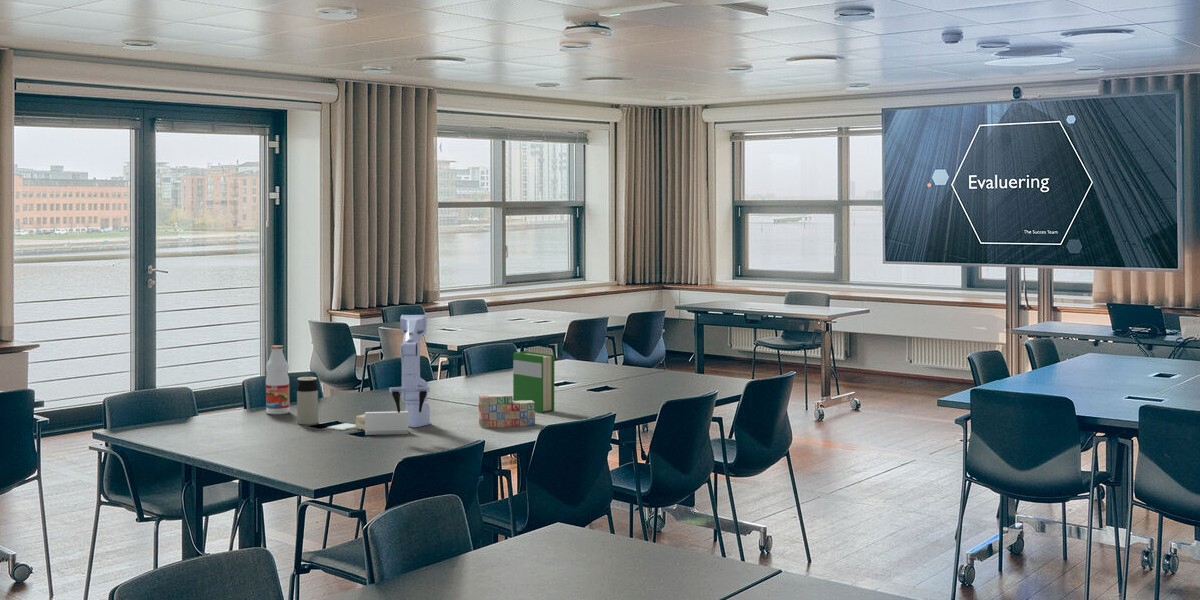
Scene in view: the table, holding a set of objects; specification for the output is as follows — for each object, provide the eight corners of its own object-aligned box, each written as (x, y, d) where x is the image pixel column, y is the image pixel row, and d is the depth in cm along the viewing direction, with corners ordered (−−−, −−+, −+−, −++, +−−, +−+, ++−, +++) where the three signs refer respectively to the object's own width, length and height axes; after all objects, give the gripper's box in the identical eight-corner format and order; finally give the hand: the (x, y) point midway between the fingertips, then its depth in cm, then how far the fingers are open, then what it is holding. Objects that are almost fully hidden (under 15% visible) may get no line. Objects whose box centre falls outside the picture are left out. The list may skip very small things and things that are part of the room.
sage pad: (345, 424, 449) (345, 423, 449) (360, 426, 444) (360, 425, 444) (326, 428, 440) (326, 427, 440) (341, 430, 436) (341, 429, 436)
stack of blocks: (531, 423, 455) (531, 392, 454) (535, 425, 449) (535, 394, 448) (478, 425, 449) (478, 394, 448) (481, 428, 443) (481, 396, 442)
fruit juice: (293, 411, 479) (292, 344, 477) (284, 415, 469) (283, 347, 467) (272, 410, 480) (271, 344, 478) (262, 414, 471) (261, 346, 469)
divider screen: (365, 434, 428) (365, 413, 427) (365, 432, 433) (365, 411, 432) (408, 433, 431) (408, 412, 430) (408, 431, 436) (408, 410, 435)
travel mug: (312, 425, 447) (312, 379, 445) (293, 424, 448) (293, 379, 447) (321, 421, 454) (321, 377, 453) (303, 421, 456) (302, 376, 455)
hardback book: (554, 411, 481) (554, 354, 480) (541, 413, 476) (541, 356, 474) (526, 406, 494) (526, 351, 492) (513, 408, 488) (513, 352, 487)
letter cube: (364, 427, 445) (364, 414, 444) (374, 428, 442) (374, 415, 442) (355, 428, 440) (355, 416, 440) (365, 430, 438) (365, 417, 437)
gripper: (388, 375, 413) (388, 412, 412) (428, 374, 414) (428, 412, 413) (390, 375, 420) (390, 412, 419) (430, 375, 421) (430, 412, 420)
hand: (409, 412), depth 416 cm, fingers open, 7 cm apart
